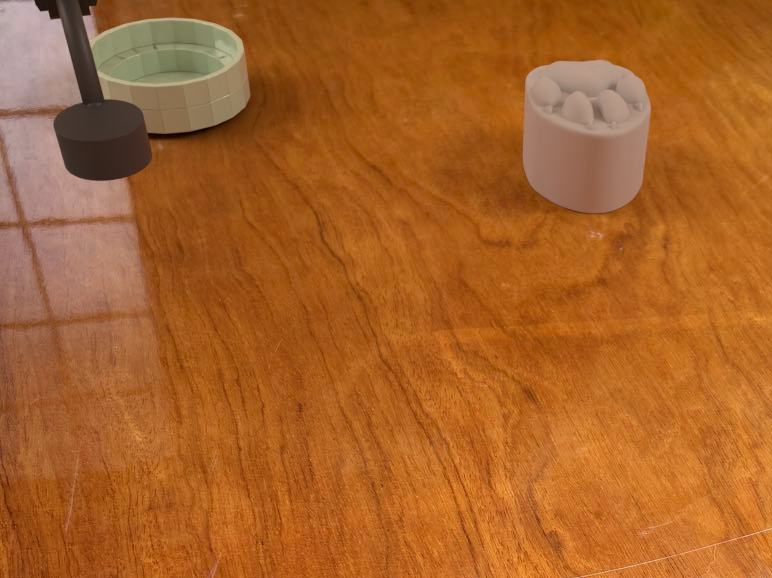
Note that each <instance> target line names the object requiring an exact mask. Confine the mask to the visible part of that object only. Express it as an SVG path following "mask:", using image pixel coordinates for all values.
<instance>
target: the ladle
mask: <svg viewBox="0 0 772 578" xmlns="http://www.w3.org/2000/svg"><path fill="white" fill-rule="evenodd" d="M56 3H57V7H58V11H59V15H60V18H61V19H60V22H61V27H62V29H63V33H64V37H65V40H66V45H67V49H68V52H69V56H70V60H71V64H72V68H73V71H74V75H75V80H76V83H77V86H78V90H79V95H80V99H81V101H82V102H78V103H76V104H73V105H71V106H68V107H67V108H65V109H63V110H62V111H60V112H59V113H58V114H57V115H56V116H55V118H54V119H53V124H52V125H53V129H54V133H55V136H56V140H57V144H58V147H59V150H60V154H61V157H62V158H61V159H62V161H63V164H64V168H65V169H66V171H67V172H68V173H69V174H70V175H72V176H74V177H76V178H78V179H82V180H86V181H93V182H108V181H109V182H110V181H115V180H121V179H125V178H129V177H131V176H133V175H136V174H138V173H139V172H142V171H143V170H145V168H147V167H148V166H149V165H150V163H151V162H152V159H153V151H152V146H151V143H150V137H149V133H147V129H146V124H145V120H144V115H143V112H142V111H141V109H140V108H138V107H137V106H136V105H134V104H132V103H129V102H126V101H121V100H113V99H104V96H103V92H102V88H101V84H100V81H99V77H98V73H97V69H96V66H95V62H94V58H93V54H92V50H91V47H90V43H89V42H90V40H89V36H88V31H87V28H86V25H85V21H84V16H82V13H81V9H80V5H79V1H78V0H56Z"/></svg>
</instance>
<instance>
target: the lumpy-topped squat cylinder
mask: <svg viewBox="0 0 772 578" xmlns="http://www.w3.org/2000/svg"><path fill="white" fill-rule="evenodd" d="M523 109H524V111H523V136H522V138H523V139H522V164H523V170H524V173H525V176H526V178H527V181H528V184H529V185H530V187H531V189H532V190H534V191H535V192H536V193H538V194H539V195H540V196H542V197H543V198H545V199H547V200H548V201H549V202H551V203H553V204H555V205H557V206H559V207H562V208H565V209H568V210H571V211H574V212H579V213H583V214H593V215H594V214H605V213H611V212H614V211H616V210H619V209H620V208H623V207H624V206H626V205H628V204H629V203H630V202H632V201H633V200H634V198H635V197H636V196H637V195H638V193H639V192H640V190H641V188H642V186H643V182H644V173H645V164H646V157H647V148H648V139H649V131H650V123H651V116H652V115H651V114H652V107H651V101H650V98H649V96H648V93H647V88H646V85H645V83H644V81H643V80H642V79H641V78H640V77H639V76H637V75H636V74H634V72H633V71H631V70H630V69H628V68H626V67H623V66H621V65H620V66H619V65H616V64H614V63H612V62H610V61H608V60H606V59H596V60H585V61H576V60H575V61H574V60H573V61H571V60H570V61H569V60H557V61H554V62H552V63H550V64H546V65H545V64H544V65H541V66H537V67H536V68H533V69H532V70H530V72H529V73H528V74H527V75H526V77H525V82H524V108H523Z"/></svg>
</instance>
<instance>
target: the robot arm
mask: <svg viewBox="0 0 772 578" xmlns="http://www.w3.org/2000/svg"><path fill="white" fill-rule="evenodd" d="M78 1H79V5H80V9H81V13H82V16H83V17H88V16H89V17H90V16H91V15H92V14H91V13H92V12H91V8H90V7H97V5H98V0H78ZM33 2H34V5H35V6H36V8H37V9H38V10H39V12H48V16H49V19H50V21H51V20H52V21H53V20H61V18H60V15H59V11H58V7H57V3H56V0H33Z"/></svg>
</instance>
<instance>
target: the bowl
mask: <svg viewBox="0 0 772 578" xmlns="http://www.w3.org/2000/svg"><path fill="white" fill-rule="evenodd" d="M89 43H90V47H91V50H92V54H93V58H94V62H95V66H96V69H97V73H98V77H99V81H100V84H101V88H102V92H103V96H104V99H113V100H121V101H126V102H129V103H132V104H134V105H136V106H137V107H138V108H140V109H141V111H142V112H143V115H144V120H145V124H146V129H147V133H148V134H159V135H160V134H162V135H165V134H166V135H168V134H177V133H178V134H179V133H189V132H193V131H199V130H202V129H207V128H210V127H215V126H217V125H219V124H221V123H224V122H226V121H228V120H230V119H232V118H234V117H235V116H236V115H237V114H239V113H241V112H242V110H244V109H245V108H246V106H247V104H248V103H249V100H250V98H251V96H252V95H251V87H250V79H249V74H248V65H247V59H246V53H245V51H246V50H245V47H244V43H243V39H241V38H240V37H239V36H238V35H237V34H236V33H235V32H234V31H233V30H231V29H229V28H227V27H224V26H223V25H220V24H219V23H215V22H210V21H207V20H201V19H196V18H185V17H184V18H183V17H160V18H147V19H141V20H137V21H130V22H126V23H123V24H120V25H117V26H115V27H112V28H109V29H107V30H104V31H102V32H101V33H100V34H98V35H96V36H95V37H93V38H92V39H90V40H89Z"/></svg>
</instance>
